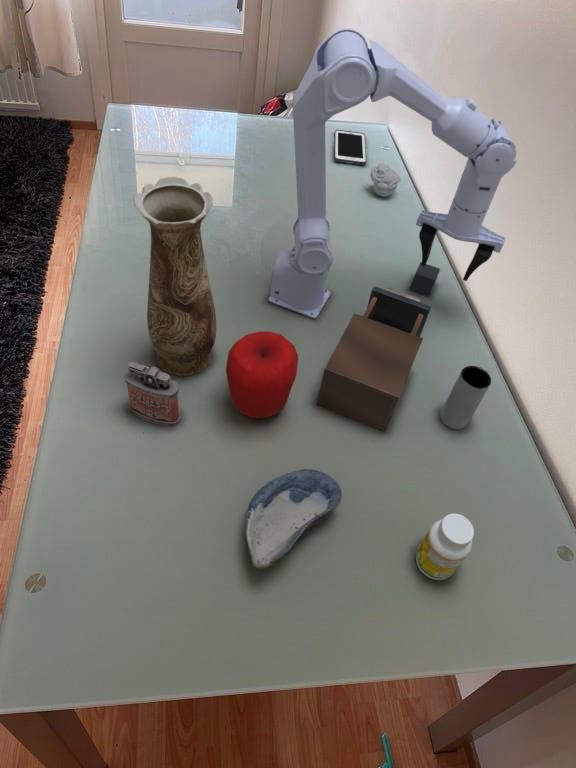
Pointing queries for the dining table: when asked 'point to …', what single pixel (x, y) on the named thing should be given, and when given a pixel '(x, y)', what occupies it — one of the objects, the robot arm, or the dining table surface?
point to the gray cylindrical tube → (465, 397)
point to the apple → (261, 373)
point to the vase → (178, 275)
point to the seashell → (287, 512)
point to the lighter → (152, 395)
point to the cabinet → (368, 371)
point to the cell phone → (350, 147)
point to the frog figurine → (384, 179)
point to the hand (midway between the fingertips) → (444, 270)
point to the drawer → (397, 310)
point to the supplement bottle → (445, 546)
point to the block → (424, 279)
